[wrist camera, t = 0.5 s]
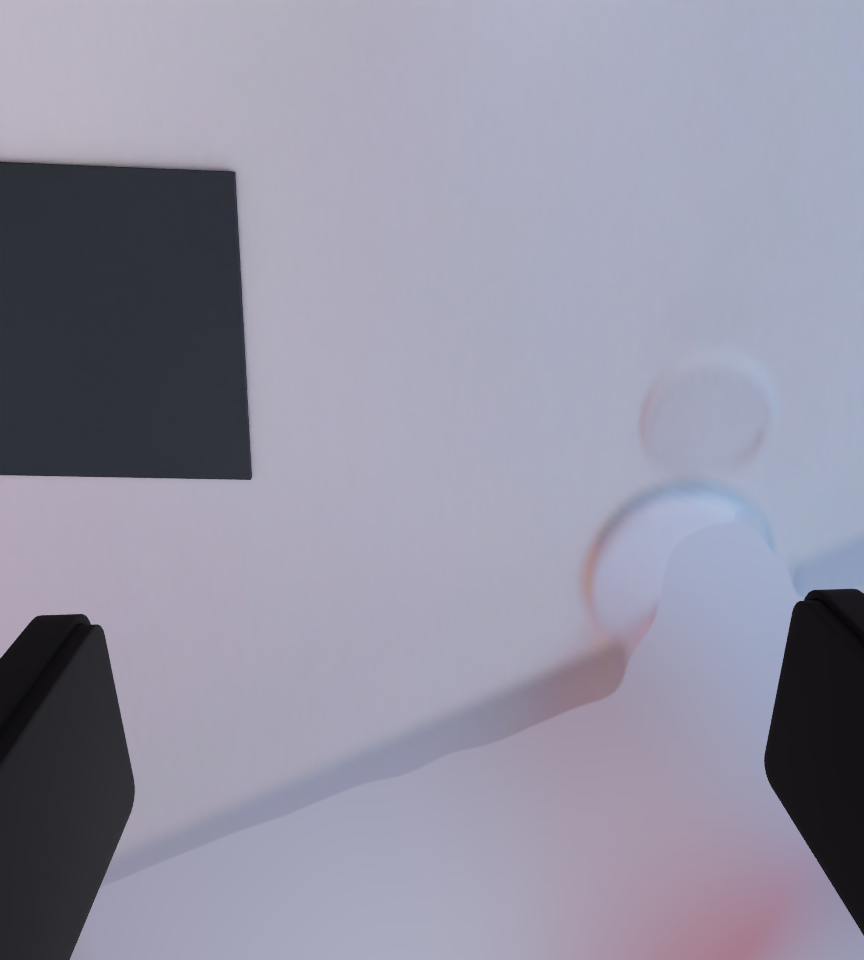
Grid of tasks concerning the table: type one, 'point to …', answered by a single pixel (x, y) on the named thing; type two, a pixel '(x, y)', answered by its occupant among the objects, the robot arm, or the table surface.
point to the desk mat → (121, 323)
